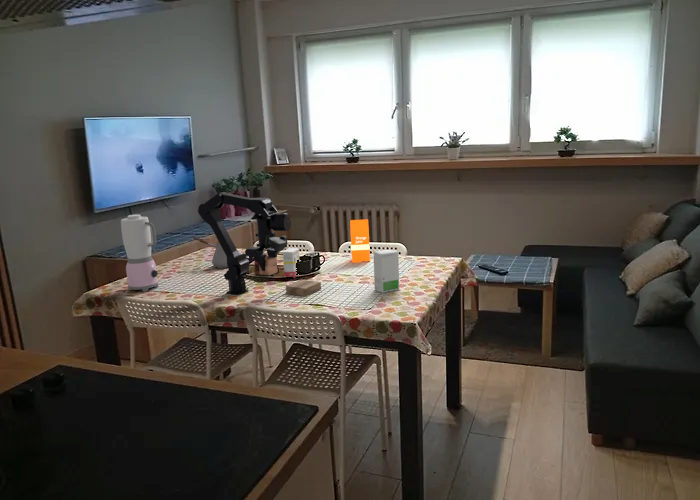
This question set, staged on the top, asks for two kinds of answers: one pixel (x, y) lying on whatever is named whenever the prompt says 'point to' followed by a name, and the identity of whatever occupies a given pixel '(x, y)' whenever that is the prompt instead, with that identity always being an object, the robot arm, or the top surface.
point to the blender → (139, 252)
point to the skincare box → (386, 270)
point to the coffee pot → (217, 254)
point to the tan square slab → (303, 287)
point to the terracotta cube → (269, 266)
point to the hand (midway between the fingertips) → (268, 269)
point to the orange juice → (360, 240)
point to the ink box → (290, 261)
